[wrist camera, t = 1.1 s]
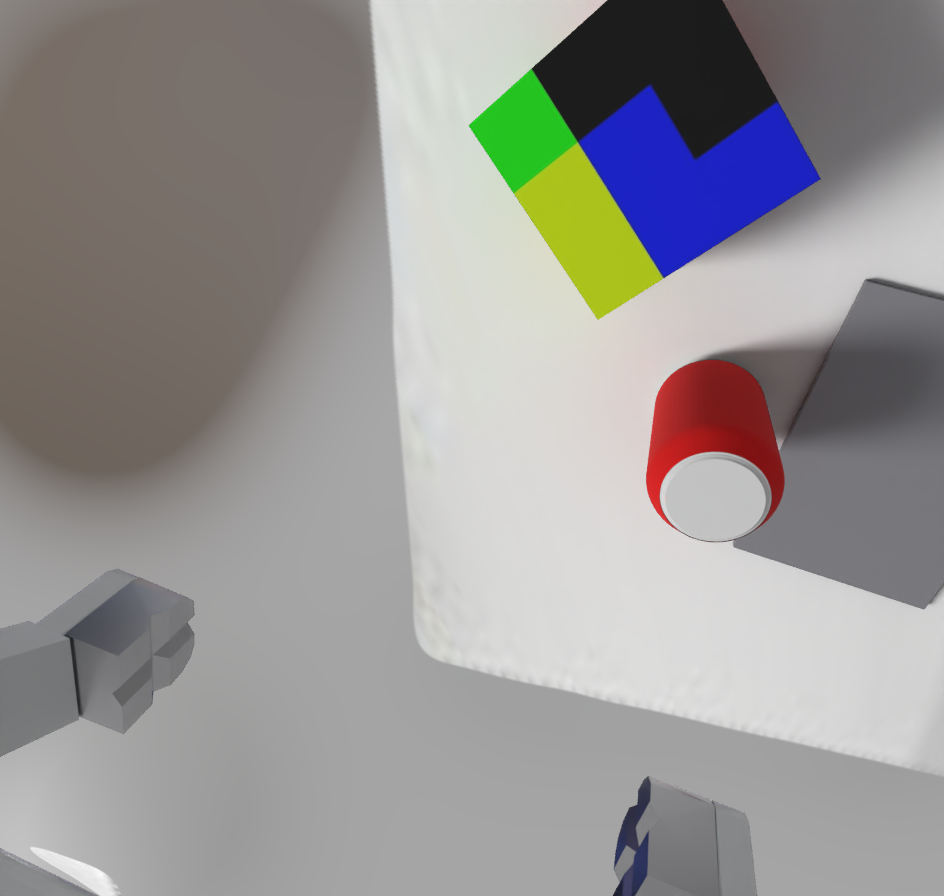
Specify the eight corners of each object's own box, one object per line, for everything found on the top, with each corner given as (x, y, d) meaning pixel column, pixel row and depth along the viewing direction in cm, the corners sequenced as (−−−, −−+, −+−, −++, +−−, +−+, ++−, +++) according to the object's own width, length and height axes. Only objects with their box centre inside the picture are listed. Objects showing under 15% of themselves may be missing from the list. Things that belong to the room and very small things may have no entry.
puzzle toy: (787, 162, 33) (820, 178, 25) (618, 274, 38) (597, 319, 30) (685, -19, 31) (684, -69, 23) (521, 122, 36) (468, 125, 28)
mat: (865, 279, 35) (867, 281, 34) (1113, 342, 33) (1118, 345, 32) (733, 542, 44) (733, 547, 43) (921, 604, 42) (924, 609, 41)
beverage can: (653, 357, 40) (640, 441, 29) (764, 350, 38) (792, 437, 27) (657, 447, 42) (647, 554, 32) (762, 445, 40) (787, 559, 30)
